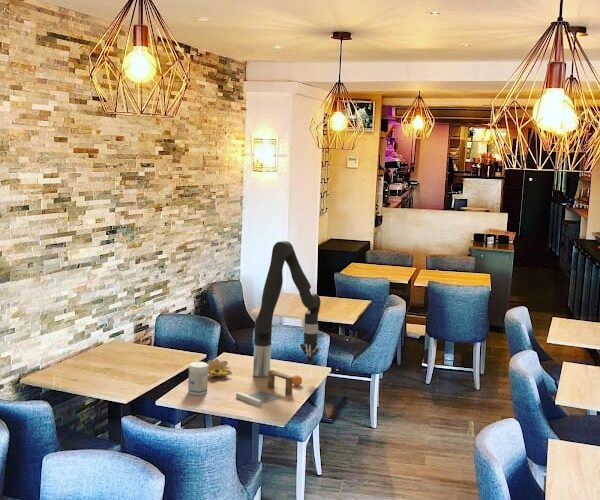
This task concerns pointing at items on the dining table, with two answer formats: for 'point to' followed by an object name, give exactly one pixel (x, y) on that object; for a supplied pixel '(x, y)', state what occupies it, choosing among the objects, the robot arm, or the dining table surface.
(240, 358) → the dining table surface
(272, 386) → the bridge
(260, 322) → the robot arm
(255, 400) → the stopper strip
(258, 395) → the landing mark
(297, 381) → the ball
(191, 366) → the supplement tub
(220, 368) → the decorative flower
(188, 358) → the dining table surface
